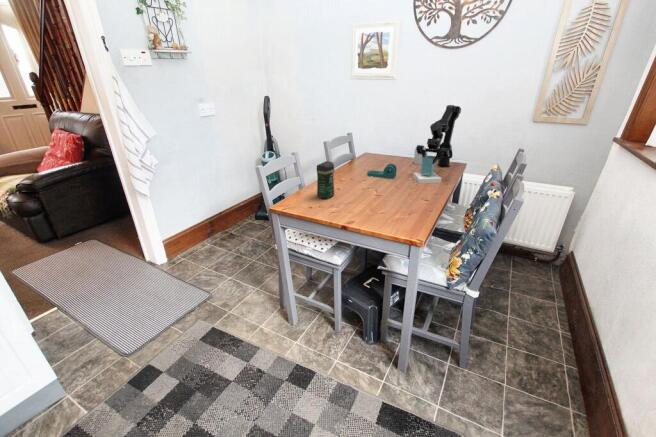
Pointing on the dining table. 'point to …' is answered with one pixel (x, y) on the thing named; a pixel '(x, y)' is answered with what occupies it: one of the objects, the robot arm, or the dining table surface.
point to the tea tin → (428, 165)
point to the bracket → (384, 172)
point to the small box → (418, 157)
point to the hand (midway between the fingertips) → (427, 163)
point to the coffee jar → (325, 179)
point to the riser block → (427, 178)
